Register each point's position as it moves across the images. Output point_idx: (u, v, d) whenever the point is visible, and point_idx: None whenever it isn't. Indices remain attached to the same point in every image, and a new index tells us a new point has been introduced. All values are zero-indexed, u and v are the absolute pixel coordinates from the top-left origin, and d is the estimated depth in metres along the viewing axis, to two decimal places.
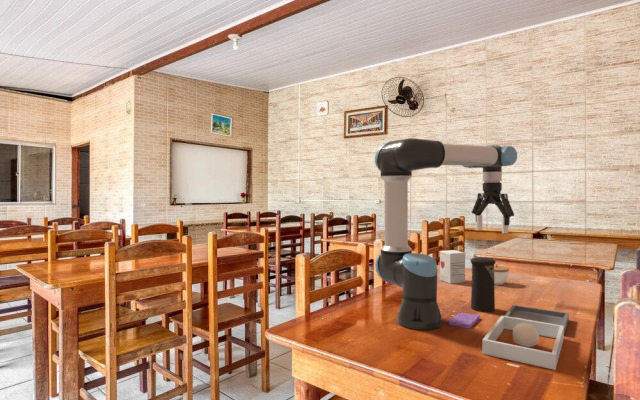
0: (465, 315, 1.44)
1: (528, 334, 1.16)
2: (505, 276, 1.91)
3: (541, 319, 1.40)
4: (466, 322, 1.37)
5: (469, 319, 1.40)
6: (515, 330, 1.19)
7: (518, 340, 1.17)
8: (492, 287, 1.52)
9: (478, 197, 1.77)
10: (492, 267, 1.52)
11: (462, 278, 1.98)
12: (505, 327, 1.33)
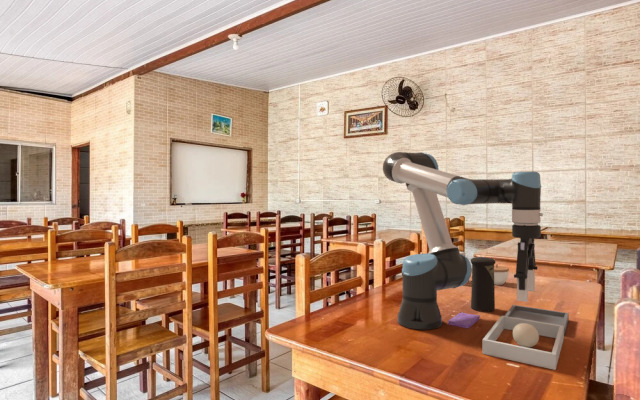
0: (465, 315, 1.44)
1: (528, 334, 1.16)
2: (505, 276, 1.91)
3: (541, 319, 1.40)
4: (465, 322, 1.37)
5: (469, 319, 1.40)
6: (515, 330, 1.19)
7: (518, 340, 1.17)
8: (492, 287, 1.52)
9: None
10: (492, 267, 1.52)
11: None
12: (505, 327, 1.33)
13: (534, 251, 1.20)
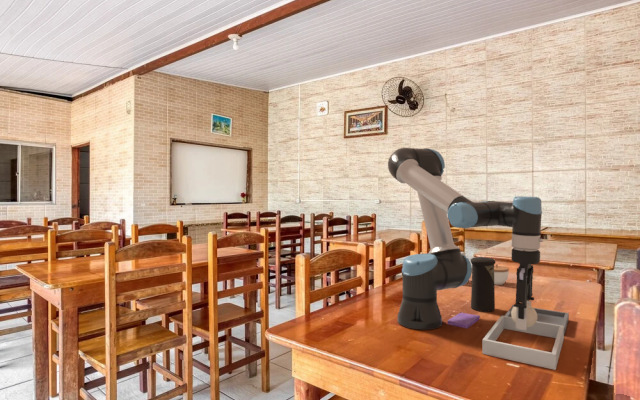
0: (465, 315, 1.44)
1: None
2: (505, 276, 1.91)
3: (541, 319, 1.40)
4: (464, 322, 1.37)
5: (468, 319, 1.40)
6: (514, 310, 1.19)
7: None
8: (492, 287, 1.52)
9: None
10: (492, 267, 1.52)
11: None
12: (505, 327, 1.33)
13: (532, 278, 1.20)
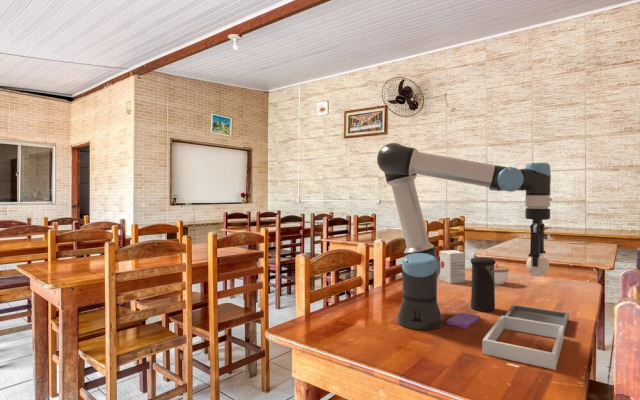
0: (465, 315, 1.44)
1: (540, 263, 1.36)
2: (505, 276, 1.91)
3: (541, 319, 1.40)
4: (464, 322, 1.37)
5: (468, 319, 1.40)
6: (528, 261, 1.39)
7: None
8: (492, 287, 1.52)
9: None
10: (492, 267, 1.52)
11: (462, 278, 1.98)
12: (505, 327, 1.33)
13: None
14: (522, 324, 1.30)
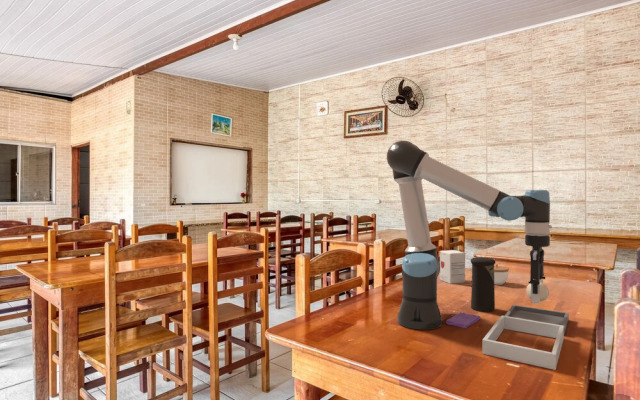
0: (465, 315, 1.44)
1: (540, 290, 1.36)
2: (505, 276, 1.91)
3: (541, 319, 1.40)
4: (463, 322, 1.37)
5: (468, 319, 1.40)
6: (529, 287, 1.39)
7: None
8: (492, 287, 1.52)
9: None
10: (492, 267, 1.52)
11: (462, 278, 1.98)
12: (505, 327, 1.33)
13: (543, 259, 1.40)
14: (522, 324, 1.30)
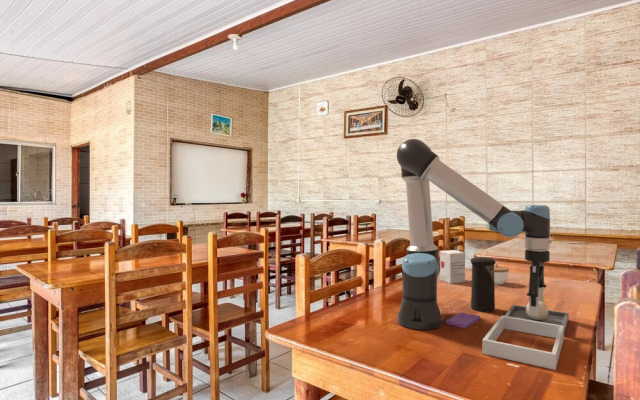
0: (465, 315, 1.44)
1: (539, 309, 1.36)
2: (505, 276, 1.91)
3: None
4: (463, 322, 1.37)
5: (467, 319, 1.40)
6: (528, 306, 1.39)
7: None
8: (492, 287, 1.52)
9: None
10: (492, 267, 1.52)
11: (462, 278, 1.98)
12: (505, 327, 1.33)
13: (543, 272, 1.41)
14: (522, 324, 1.30)
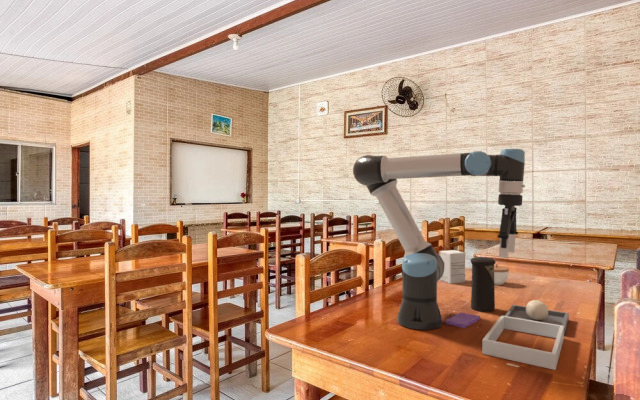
0: (465, 315, 1.44)
1: (539, 309, 1.36)
2: (505, 276, 1.91)
3: None
4: (462, 322, 1.37)
5: (467, 319, 1.40)
6: (528, 306, 1.39)
7: (531, 314, 1.38)
8: (492, 287, 1.52)
9: None
10: (492, 267, 1.52)
11: (462, 278, 1.98)
12: (505, 327, 1.33)
13: None
14: (522, 324, 1.30)
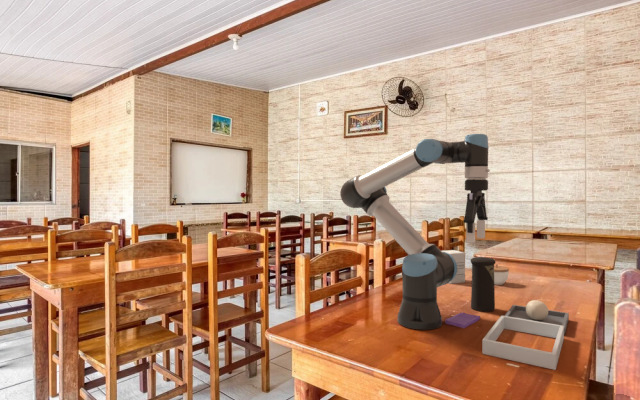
0: (465, 315, 1.44)
1: (539, 309, 1.36)
2: (505, 276, 1.91)
3: None
4: (462, 322, 1.37)
5: (467, 319, 1.40)
6: (528, 306, 1.39)
7: (531, 314, 1.38)
8: (492, 287, 1.52)
9: None
10: (492, 267, 1.52)
11: (462, 278, 1.98)
12: (505, 327, 1.33)
13: (483, 203, 1.41)
14: (522, 324, 1.30)
